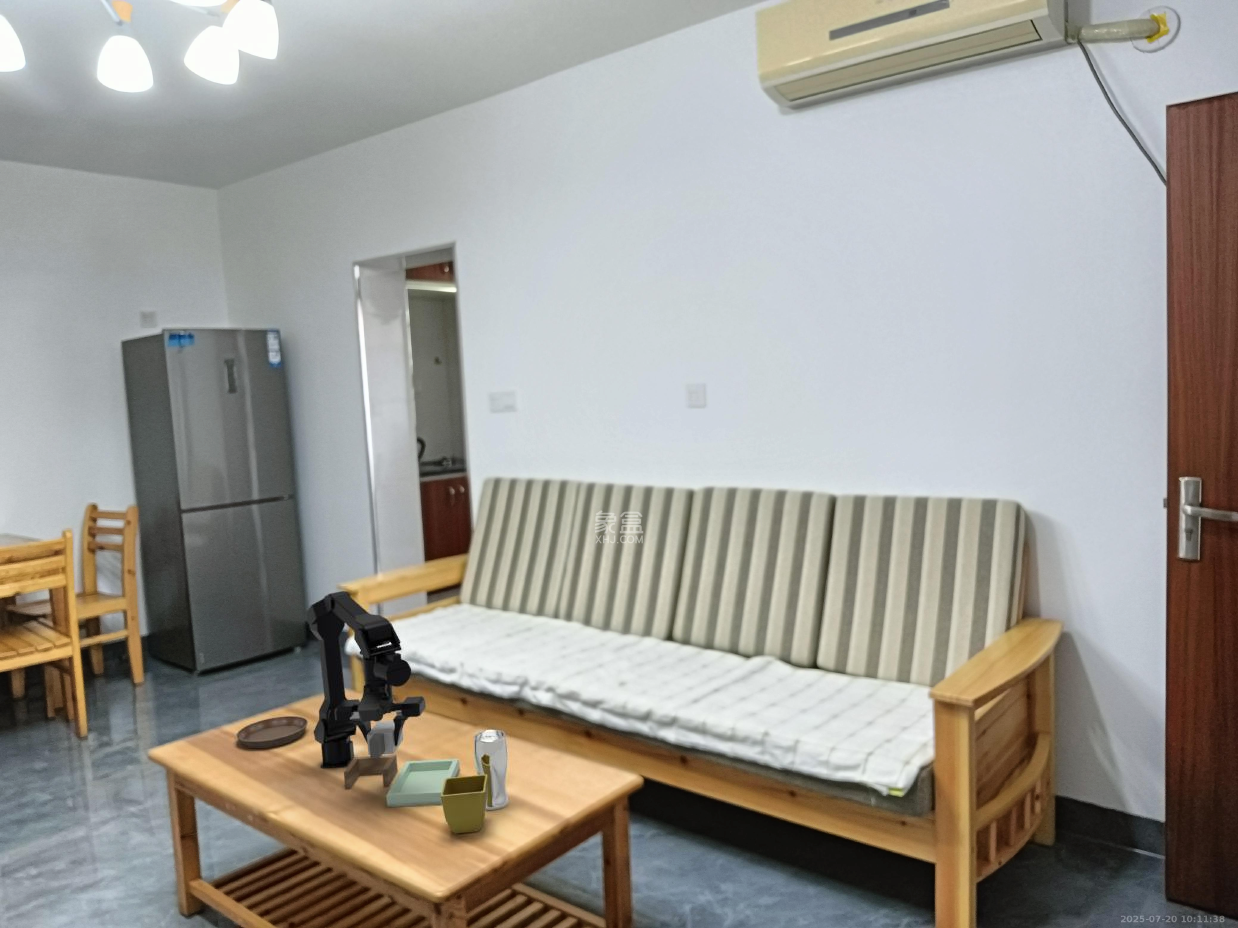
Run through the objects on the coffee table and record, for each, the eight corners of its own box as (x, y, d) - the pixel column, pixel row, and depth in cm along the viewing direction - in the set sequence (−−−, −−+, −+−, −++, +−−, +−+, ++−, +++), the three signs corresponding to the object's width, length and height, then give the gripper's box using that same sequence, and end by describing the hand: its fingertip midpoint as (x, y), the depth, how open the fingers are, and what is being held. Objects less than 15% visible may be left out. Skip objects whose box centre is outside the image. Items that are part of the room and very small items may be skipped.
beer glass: (516, 797, 196) (511, 730, 195) (501, 812, 190) (496, 742, 189) (487, 794, 199) (482, 727, 197) (472, 809, 192) (466, 740, 191)
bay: (345, 788, 206) (343, 771, 206) (355, 773, 214) (354, 756, 214) (388, 786, 206) (387, 769, 206) (397, 771, 214) (396, 754, 214)
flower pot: (448, 819, 188) (444, 777, 188) (490, 815, 189) (487, 773, 188) (443, 839, 180) (440, 795, 179) (488, 835, 180) (484, 791, 180)
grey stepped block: (362, 762, 195) (360, 740, 195) (379, 740, 207) (377, 720, 207) (388, 761, 195) (386, 739, 195) (403, 739, 207) (401, 719, 206)
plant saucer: (223, 744, 239) (222, 733, 238) (282, 722, 253) (281, 711, 253) (263, 756, 228) (262, 745, 228) (322, 732, 243) (321, 721, 243)
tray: (387, 806, 196) (386, 795, 195) (406, 771, 213) (406, 761, 213) (444, 803, 195) (444, 792, 195) (459, 769, 213) (458, 758, 213)
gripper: (322, 690, 192) (329, 762, 193) (410, 686, 191) (416, 758, 193) (340, 674, 203) (346, 742, 204) (423, 670, 203) (428, 738, 204)
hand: (383, 745), depth 201 cm, fingers closed on grey stepped block, 5 cm apart
